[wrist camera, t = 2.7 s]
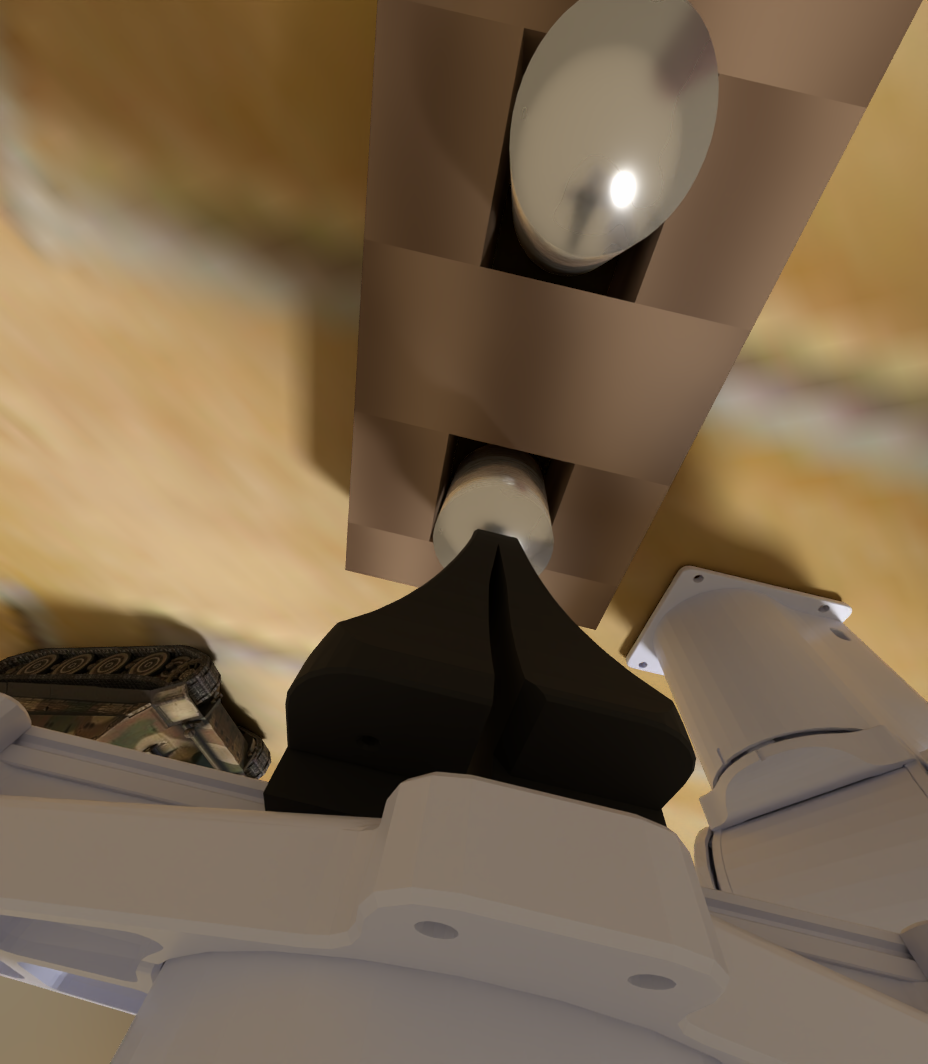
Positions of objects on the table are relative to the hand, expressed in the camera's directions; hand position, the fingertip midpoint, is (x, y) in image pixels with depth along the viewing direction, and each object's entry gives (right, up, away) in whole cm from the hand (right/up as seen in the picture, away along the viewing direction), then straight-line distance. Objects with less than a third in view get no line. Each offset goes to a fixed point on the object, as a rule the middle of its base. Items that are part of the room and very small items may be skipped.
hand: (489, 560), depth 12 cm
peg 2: (+3, +11, 0) cm, 12 cm away
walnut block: (+2, +9, +5) cm, 10 cm away
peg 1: (+1, +3, +5) cm, 6 cm away
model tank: (-29, -14, +23) cm, 39 cm away
